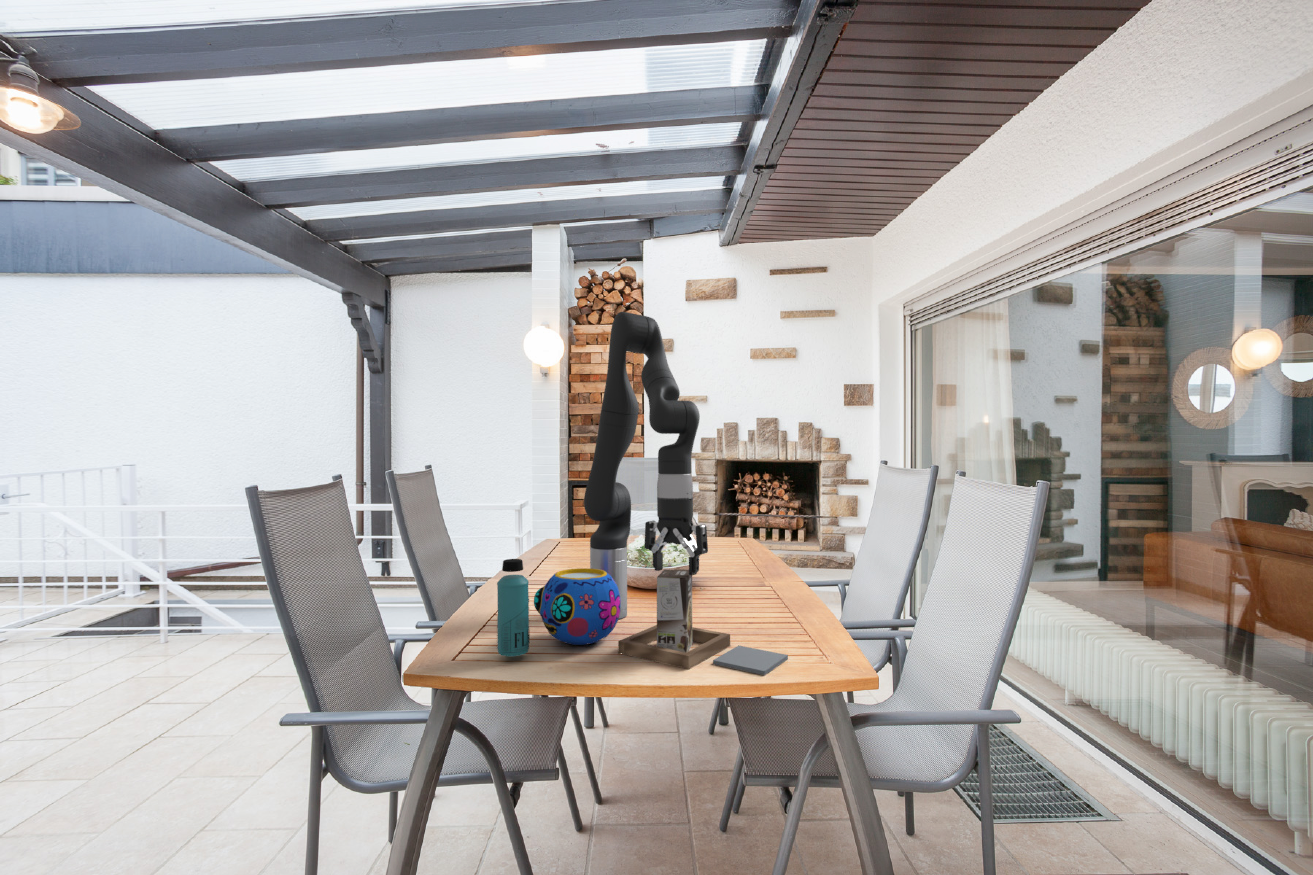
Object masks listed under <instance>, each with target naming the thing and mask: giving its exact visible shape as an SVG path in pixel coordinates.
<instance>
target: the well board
mask: <svg viewBox="0 0 1313 875" xmlns="http://www.w3.org/2000/svg"><path fill="white" fill-rule="evenodd" d="M655 641H657V624H656V625H654V626H653V625H652V626H651V627H649V628H646V629H644V630H641V631H639V632H636V633H634V634H632V635H629V636H626V637H625V638H622V639H620V640H618V642H617V645H618V648H617V653H618V654H620V653H622V654H621V655H624V654H625V656H629V657H633V656H635V658H637V657H638V658H639V659H642V658H643V660H645V661H652V662H656V663H660V664H664V665H668V666H673V667H678V668H682V669H686V670H691V669H692V668H693V667H696V666H697V665H699V664H701V663H702V662H704V661H705V660H708V659H710V658H711V657H714V656H715V655H717V654H718V653H720V652H722V651H723V650H725V649H728V648H730V647H731V634H730V633H726V632H720V631H716V630H715V631H714V630H710V629H704V628H699V627H693V626H692V642H695V643H699V644H700V643H701V644H700V645H698V646H696V647H694V648H692V649H689V651H688V652H681V651H676V650H672V649H667V648H662V647H657V645H654V644H653V645H652V644H651V643H652V642H655Z"/></svg>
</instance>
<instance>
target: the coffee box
mask: <svg viewBox="0 0 1313 875" xmlns="http://www.w3.org/2000/svg"><path fill="white" fill-rule="evenodd" d="M656 625H657V640H656V646H657V647H662V648H667V649H672V650H676V651H681V652H688V651H690V650H691V647H692V645H693V641H692V627H693V575H689V569H679V568H678V569H664V568H663V569H662V570H661V572H660V574H658V575H657V576H656Z"/></svg>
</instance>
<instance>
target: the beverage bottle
mask: <svg viewBox="0 0 1313 875" xmlns="http://www.w3.org/2000/svg"><path fill="white" fill-rule="evenodd" d="M523 562H524V561H523V559H520V558H509V559H508V558H507V559H505V560H503V561H502V567H501V569H502V570H501V571H503V572H506V573H507V572H508V573H515V572H521V571H523V570H524V564H523ZM529 583H530V582H529V580H528V579H527V577H526V576H524V575H522V574H508V575H507V574H506V575H503V576H502V577H501V578H500V579H499V580H498V581H497V583H496V585H497V618H496V619H497V621H496V625H497V626H496V628H497V634H496V637H497V654H498V655H499V656H503V657H517V656H518V657H519V656H522V655H526V654H527V653H528V652H529V650H530V636H531V633H530V632H531V631H530V630H531V628H530V626H529V625H530V618H529V617H530V616H529V613H530V611H529V610H530V605H529V604H530V595H529Z"/></svg>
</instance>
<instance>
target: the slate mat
mask: <svg viewBox="0 0 1313 875" xmlns="http://www.w3.org/2000/svg"><path fill="white" fill-rule="evenodd" d="M788 659H789V655H788V654H786V653H785V654H784V653H780V652H774V651H769V650H764V649H759V648H755V647H749V646H748V647H747V646H745V645H744V646H743V645H737V646H734V647H733V648H731V649H730V650H728V651H726V652H724V653H723V654H721V655H719V656H718V657H716V658H714V659H713V660H712V665H715V666H720V667H723V668H729V669H733V670H738V671H739V670H740V671H741V672H742V671H743V672H748V673H752V674H756V675H761V676H766V675H768V674H769V673H771V672H772V671H773V670H774V669H776V668H778V666H780V665H781V664H783V663H784V662H786V661H787V660H788Z"/></svg>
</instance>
